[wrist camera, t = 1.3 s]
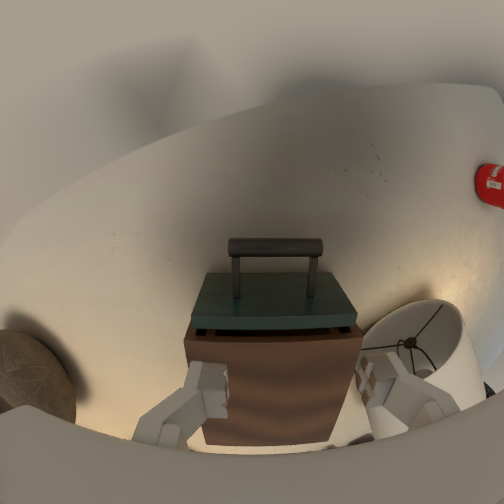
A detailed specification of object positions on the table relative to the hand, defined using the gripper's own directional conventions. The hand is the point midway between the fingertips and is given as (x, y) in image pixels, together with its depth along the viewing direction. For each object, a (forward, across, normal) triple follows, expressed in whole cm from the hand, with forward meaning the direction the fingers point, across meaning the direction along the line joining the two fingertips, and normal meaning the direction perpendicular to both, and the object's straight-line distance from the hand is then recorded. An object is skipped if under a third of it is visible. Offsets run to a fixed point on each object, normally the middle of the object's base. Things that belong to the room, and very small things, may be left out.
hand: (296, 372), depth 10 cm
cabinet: (+17, 0, +12) cm, 21 cm away
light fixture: (+17, -24, +21) cm, 36 cm away
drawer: (+16, 0, +7) cm, 18 cm away
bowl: (+17, +38, +21) cm, 47 cm away
